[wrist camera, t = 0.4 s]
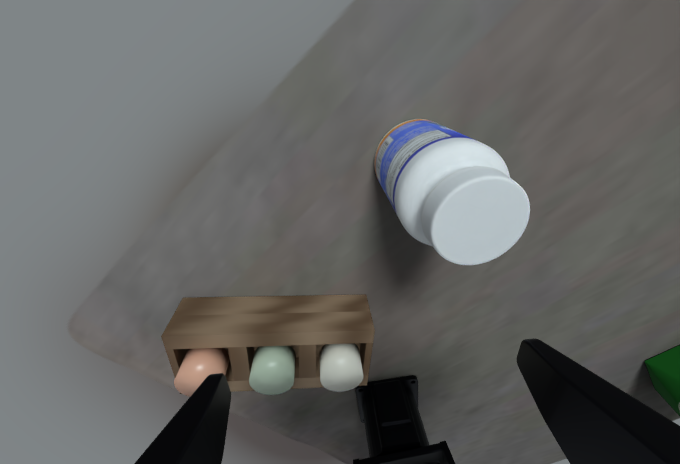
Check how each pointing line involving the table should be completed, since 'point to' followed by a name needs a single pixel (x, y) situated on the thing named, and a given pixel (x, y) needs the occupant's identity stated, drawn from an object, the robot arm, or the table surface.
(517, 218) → the pill bottle
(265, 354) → the sage egg
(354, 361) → the white rounded piece
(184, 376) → the peach oval piece
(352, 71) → the table surface
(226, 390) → the robot arm
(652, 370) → the milk carton
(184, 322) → the wooden egg tray
